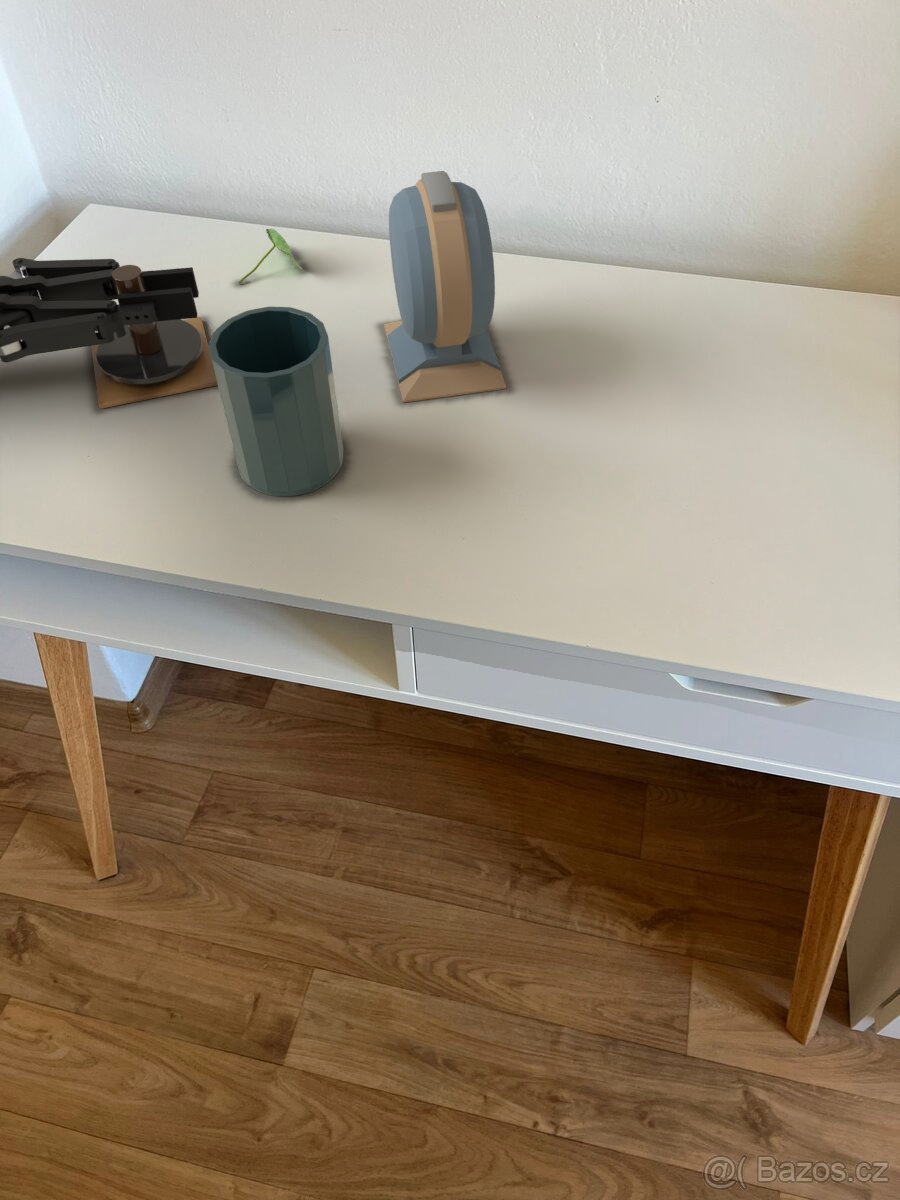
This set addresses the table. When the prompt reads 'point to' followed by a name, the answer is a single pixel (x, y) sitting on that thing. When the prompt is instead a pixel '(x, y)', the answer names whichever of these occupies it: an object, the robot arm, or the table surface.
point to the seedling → (278, 243)
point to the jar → (279, 399)
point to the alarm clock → (442, 291)
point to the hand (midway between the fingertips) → (194, 292)
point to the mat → (187, 381)
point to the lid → (147, 342)
